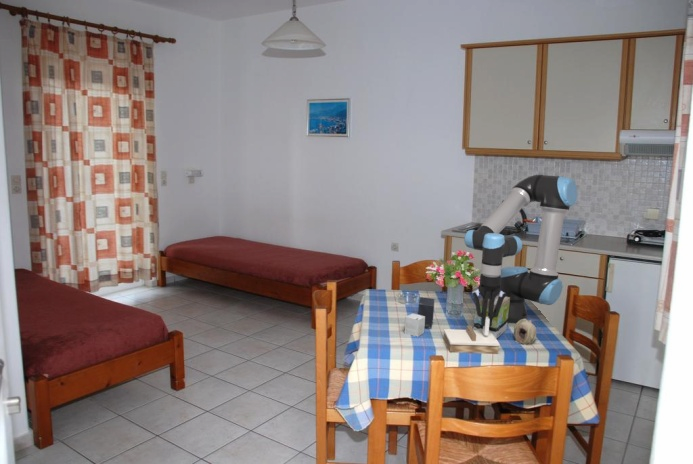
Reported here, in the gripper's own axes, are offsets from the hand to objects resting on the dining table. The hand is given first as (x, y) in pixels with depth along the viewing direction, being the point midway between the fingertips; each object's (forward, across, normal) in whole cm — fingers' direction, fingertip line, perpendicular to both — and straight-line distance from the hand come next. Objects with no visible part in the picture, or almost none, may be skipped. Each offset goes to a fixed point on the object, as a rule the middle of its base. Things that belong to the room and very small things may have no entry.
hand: (485, 334), depth 213 cm
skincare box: (+6, +26, -12) cm, 29 cm away
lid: (+2, +5, 0) cm, 6 cm away
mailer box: (+5, +6, 0) cm, 8 cm away
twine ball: (+6, -18, -6) cm, 19 cm away
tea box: (+6, -6, -16) cm, 18 cm away
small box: (+6, +20, -23) cm, 31 cm away
